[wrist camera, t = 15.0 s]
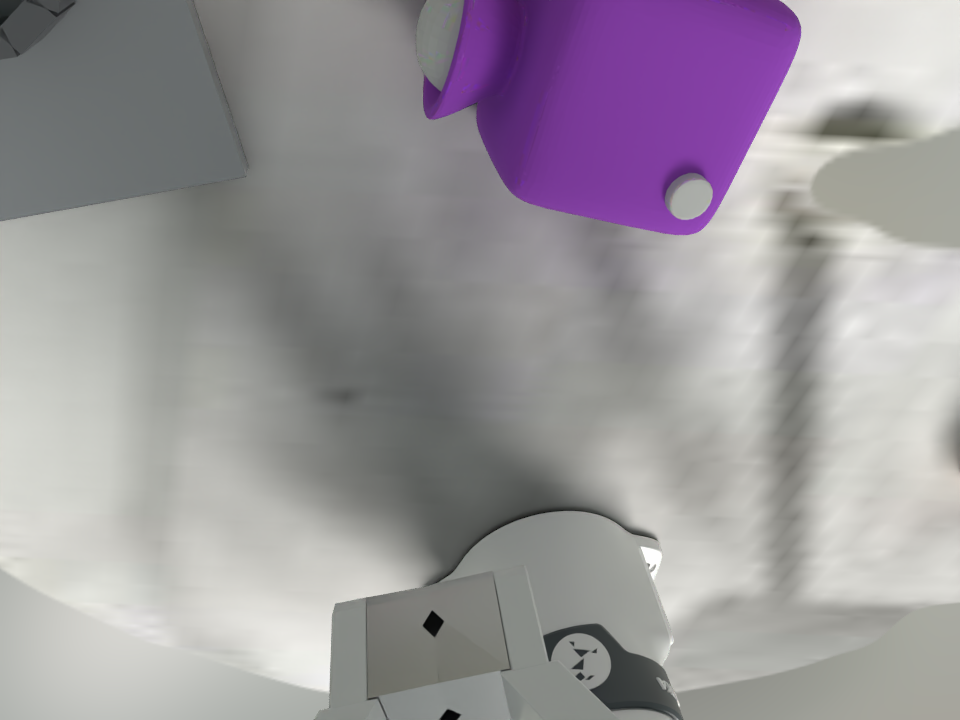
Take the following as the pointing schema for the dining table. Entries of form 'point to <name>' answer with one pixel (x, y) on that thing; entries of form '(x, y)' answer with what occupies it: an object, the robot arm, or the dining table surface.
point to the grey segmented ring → (30, 25)
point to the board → (112, 109)
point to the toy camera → (611, 97)
